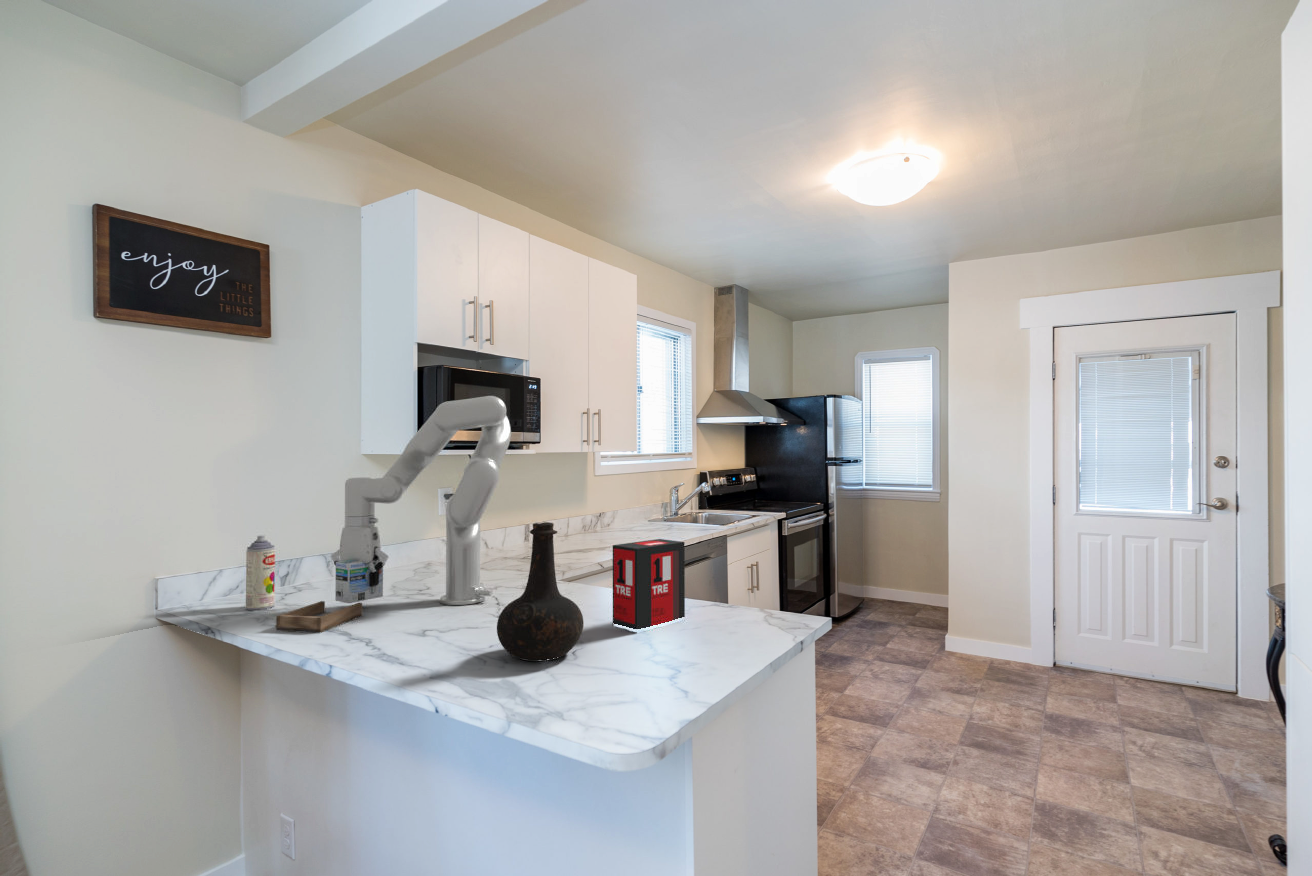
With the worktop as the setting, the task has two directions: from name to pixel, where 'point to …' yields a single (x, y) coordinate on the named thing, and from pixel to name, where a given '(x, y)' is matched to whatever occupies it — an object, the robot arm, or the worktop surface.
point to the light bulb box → (356, 582)
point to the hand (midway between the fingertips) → (359, 585)
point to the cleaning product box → (648, 583)
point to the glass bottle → (540, 608)
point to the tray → (316, 618)
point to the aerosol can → (260, 574)
